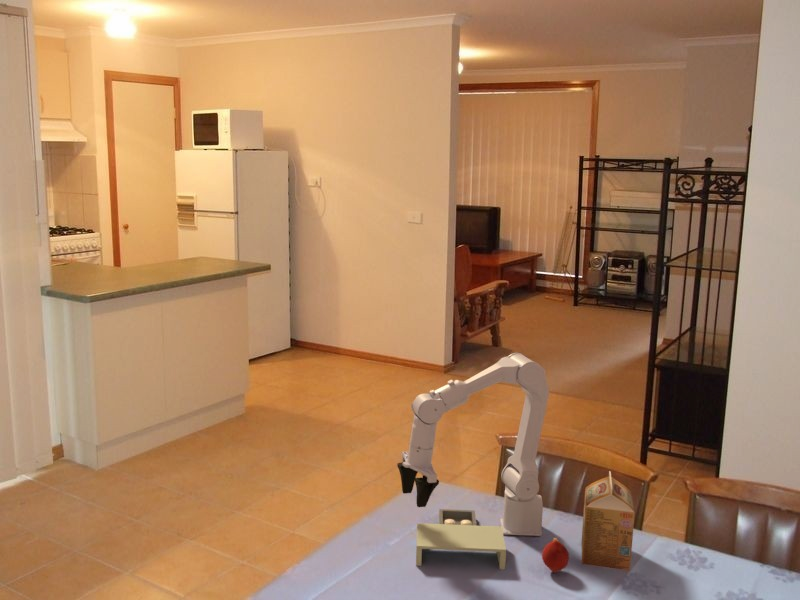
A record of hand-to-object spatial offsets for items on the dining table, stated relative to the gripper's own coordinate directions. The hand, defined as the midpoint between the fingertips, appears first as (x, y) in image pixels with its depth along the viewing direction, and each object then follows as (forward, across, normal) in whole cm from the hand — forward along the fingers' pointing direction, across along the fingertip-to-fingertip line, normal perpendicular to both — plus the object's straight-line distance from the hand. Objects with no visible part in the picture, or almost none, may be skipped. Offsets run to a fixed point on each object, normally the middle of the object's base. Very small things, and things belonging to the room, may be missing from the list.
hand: (413, 499), depth 182 cm
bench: (+9, +11, +8) cm, 16 cm away
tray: (+9, -1, +14) cm, 17 cm away
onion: (+8, +26, +24) cm, 36 cm away
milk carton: (+6, +25, +39) cm, 46 cm away
